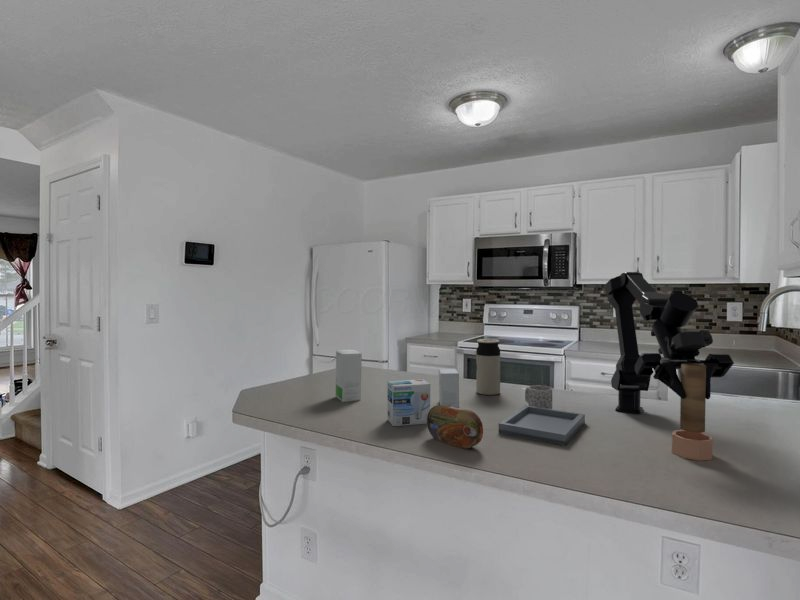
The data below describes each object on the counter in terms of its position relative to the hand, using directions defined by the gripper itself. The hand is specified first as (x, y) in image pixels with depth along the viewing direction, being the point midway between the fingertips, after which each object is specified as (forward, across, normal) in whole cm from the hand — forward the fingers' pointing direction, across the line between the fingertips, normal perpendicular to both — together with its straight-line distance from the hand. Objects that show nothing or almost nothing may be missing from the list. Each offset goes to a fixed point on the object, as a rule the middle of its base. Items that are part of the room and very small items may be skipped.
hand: (696, 398), depth 95 cm
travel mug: (-29, -39, +47) cm, 68 cm away
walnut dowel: (+4, 0, +6) cm, 7 cm away
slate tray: (-3, -28, +20) cm, 35 cm away
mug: (-16, -26, +34) cm, 46 cm away
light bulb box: (-4, -63, +23) cm, 67 cm away
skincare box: (-21, -85, +39) cm, 96 cm away
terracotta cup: (+8, 0, +10) cm, 13 cm away
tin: (+6, -51, +12) cm, 53 cm away
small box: (-17, -52, +35) cm, 65 cm away
